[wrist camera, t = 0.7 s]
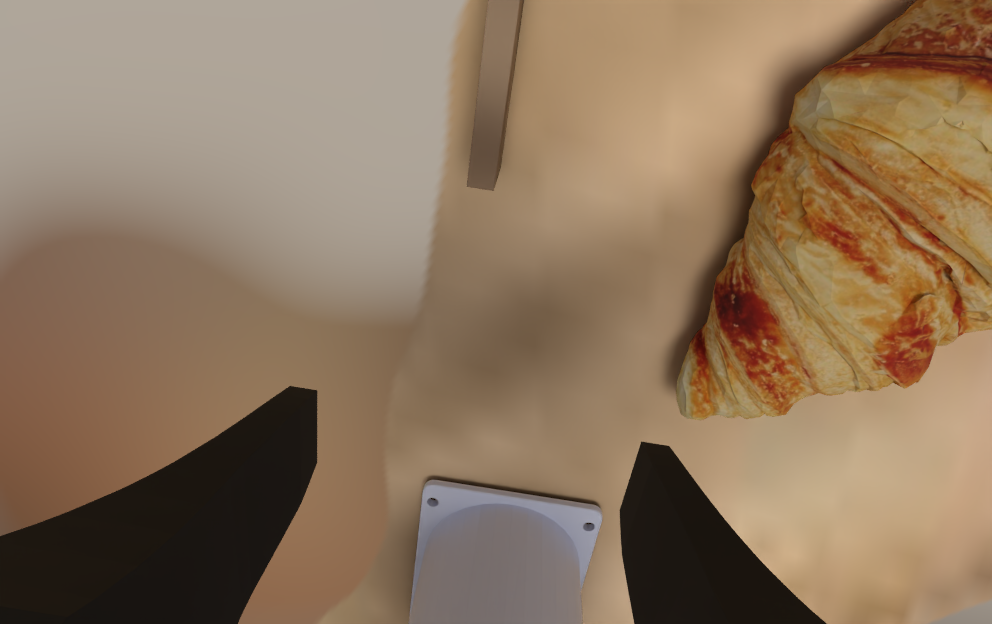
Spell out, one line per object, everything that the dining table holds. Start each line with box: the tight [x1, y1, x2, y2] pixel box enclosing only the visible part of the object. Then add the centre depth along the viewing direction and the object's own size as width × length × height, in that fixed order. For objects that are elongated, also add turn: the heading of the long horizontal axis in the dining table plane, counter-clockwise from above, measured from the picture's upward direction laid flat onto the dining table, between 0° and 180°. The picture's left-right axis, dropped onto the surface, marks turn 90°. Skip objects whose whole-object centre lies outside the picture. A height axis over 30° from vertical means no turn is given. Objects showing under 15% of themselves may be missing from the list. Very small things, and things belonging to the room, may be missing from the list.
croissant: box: [676, 0, 992, 420], centre depth 17 cm, size 21×10×8 cm, turn 146°
